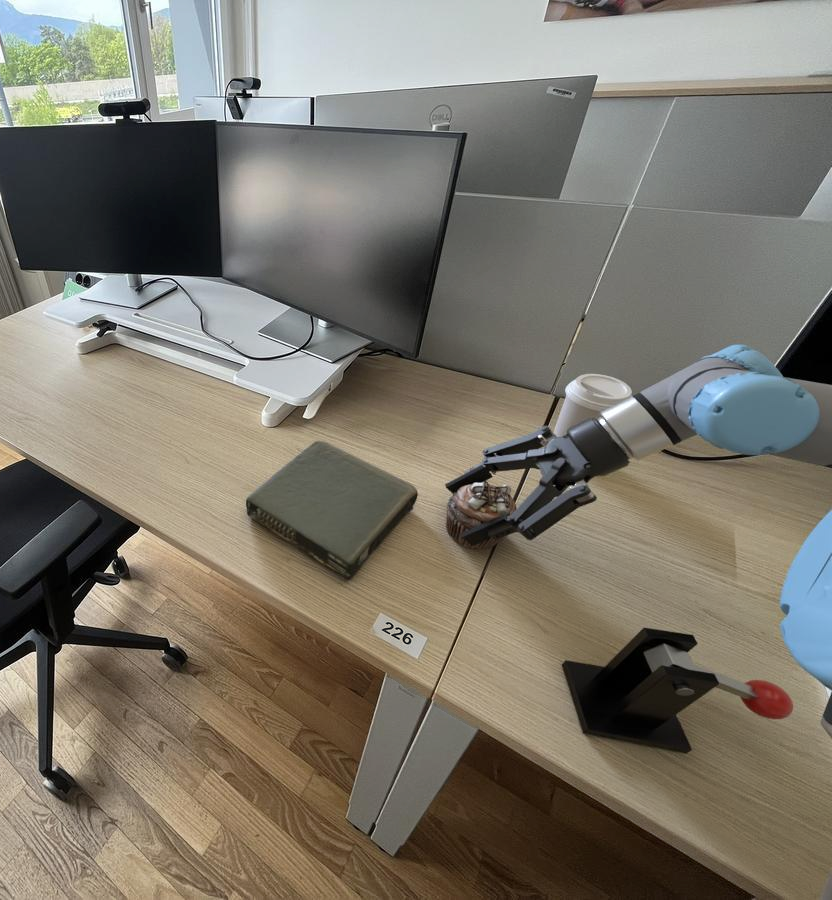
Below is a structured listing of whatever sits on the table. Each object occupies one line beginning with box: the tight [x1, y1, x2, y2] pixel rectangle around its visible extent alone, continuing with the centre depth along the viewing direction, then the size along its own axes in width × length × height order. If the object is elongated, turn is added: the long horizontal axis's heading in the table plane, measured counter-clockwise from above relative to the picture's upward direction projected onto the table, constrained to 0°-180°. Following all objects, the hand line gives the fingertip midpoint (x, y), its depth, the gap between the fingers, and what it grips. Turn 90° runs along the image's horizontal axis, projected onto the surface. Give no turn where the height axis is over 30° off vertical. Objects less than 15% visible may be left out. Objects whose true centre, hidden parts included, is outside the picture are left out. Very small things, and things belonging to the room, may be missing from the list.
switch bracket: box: [561, 627, 720, 754], centre depth 50 cm, size 10×8×13 cm
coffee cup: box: [552, 373, 633, 437], centre depth 83 cm, size 10×10×15 cm
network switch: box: [245, 440, 419, 581], centre depth 79 cm, size 23×24×5 cm
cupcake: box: [445, 480, 518, 551], centre depth 72 cm, size 10×10×10 cm
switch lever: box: [643, 643, 794, 720], centre depth 47 cm, size 14×4×4 cm, turn 78°
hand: (458, 513), depth 73 cm, fingers closed on cupcake, 10 cm apart
